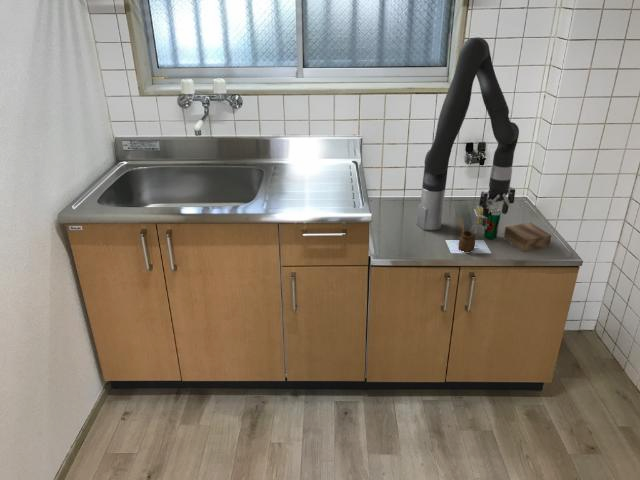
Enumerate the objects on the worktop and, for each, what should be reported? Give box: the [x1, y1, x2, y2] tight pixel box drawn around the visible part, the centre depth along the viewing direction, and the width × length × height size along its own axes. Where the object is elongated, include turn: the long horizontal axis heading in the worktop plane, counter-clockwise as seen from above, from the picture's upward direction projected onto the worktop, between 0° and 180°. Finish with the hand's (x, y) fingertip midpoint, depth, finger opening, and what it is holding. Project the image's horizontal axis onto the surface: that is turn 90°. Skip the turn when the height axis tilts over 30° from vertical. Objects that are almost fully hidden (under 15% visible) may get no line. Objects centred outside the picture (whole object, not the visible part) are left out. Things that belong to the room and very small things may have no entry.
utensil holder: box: [458, 218, 478, 253], centre depth 192 cm, size 6×6×12 cm
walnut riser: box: [503, 222, 552, 252], centre depth 199 cm, size 12×12×5 cm
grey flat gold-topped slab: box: [473, 205, 487, 226], centre depth 216 cm, size 12×18×7 cm, turn 175°
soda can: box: [483, 207, 502, 241], centre depth 201 cm, size 5×5×12 cm
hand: (494, 214), depth 199 cm, fingers open, 8 cm apart
